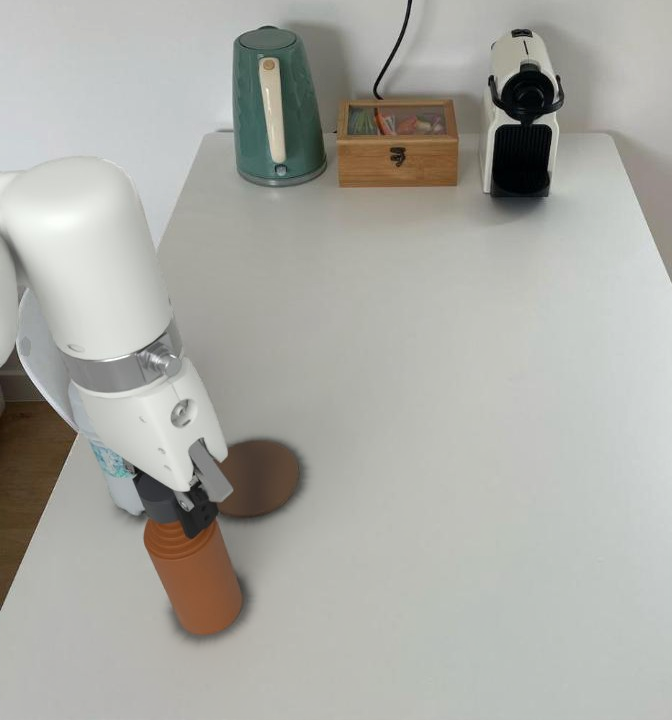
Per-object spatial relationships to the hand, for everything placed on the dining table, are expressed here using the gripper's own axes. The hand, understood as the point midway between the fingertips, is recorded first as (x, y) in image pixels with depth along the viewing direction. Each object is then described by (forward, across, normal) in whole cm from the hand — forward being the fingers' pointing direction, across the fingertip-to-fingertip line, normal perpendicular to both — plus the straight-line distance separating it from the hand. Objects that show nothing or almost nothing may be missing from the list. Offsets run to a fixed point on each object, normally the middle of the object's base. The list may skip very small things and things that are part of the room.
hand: (181, 510), depth 66 cm
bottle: (+14, +15, -5) cm, 21 cm away
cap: (-1, 0, +1) cm, 2 cm away
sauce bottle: (+14, 0, 0) cm, 14 cm away
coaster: (+14, +7, -13) cm, 20 cm away
